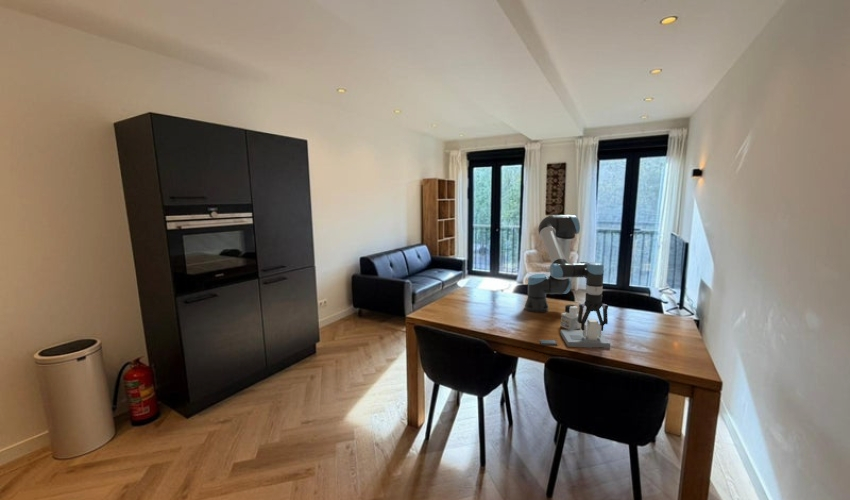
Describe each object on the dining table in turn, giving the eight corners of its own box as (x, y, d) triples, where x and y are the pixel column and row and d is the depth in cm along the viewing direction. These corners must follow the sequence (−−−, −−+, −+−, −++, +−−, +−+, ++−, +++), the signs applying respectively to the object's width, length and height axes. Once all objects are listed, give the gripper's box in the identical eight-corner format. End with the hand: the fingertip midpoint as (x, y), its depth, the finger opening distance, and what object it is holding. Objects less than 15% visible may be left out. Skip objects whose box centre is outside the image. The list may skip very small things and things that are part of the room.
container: (560, 326, 201) (561, 304, 199) (570, 323, 203) (571, 302, 201) (570, 330, 194) (571, 308, 192) (580, 328, 196) (582, 306, 194)
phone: (539, 341, 181) (539, 339, 181) (555, 341, 180) (555, 340, 179) (541, 344, 177) (541, 343, 176) (557, 345, 175) (557, 343, 175)
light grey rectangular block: (585, 340, 180) (587, 318, 178) (594, 341, 179) (595, 319, 177) (588, 344, 176) (589, 321, 174) (596, 344, 175) (598, 322, 173)
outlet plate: (560, 333, 189) (560, 329, 189) (598, 335, 186) (599, 330, 186) (567, 346, 174) (568, 341, 173) (610, 348, 171) (610, 343, 170)
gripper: (575, 294, 171) (573, 338, 175) (617, 295, 168) (614, 339, 172) (571, 290, 179) (569, 332, 182) (611, 291, 176) (609, 333, 179)
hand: (591, 336), depth 177 cm, fingers open, 7 cm apart
